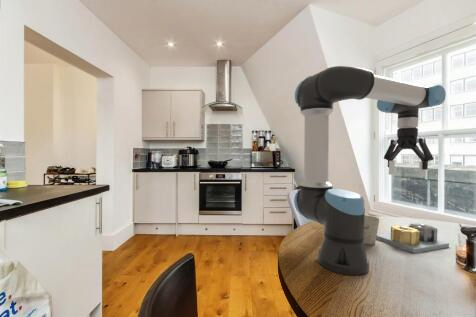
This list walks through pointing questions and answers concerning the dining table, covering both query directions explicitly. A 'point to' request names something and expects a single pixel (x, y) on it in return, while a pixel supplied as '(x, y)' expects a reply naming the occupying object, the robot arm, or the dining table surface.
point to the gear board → (413, 248)
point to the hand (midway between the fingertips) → (405, 175)
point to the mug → (370, 229)
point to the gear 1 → (405, 235)
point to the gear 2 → (426, 232)
